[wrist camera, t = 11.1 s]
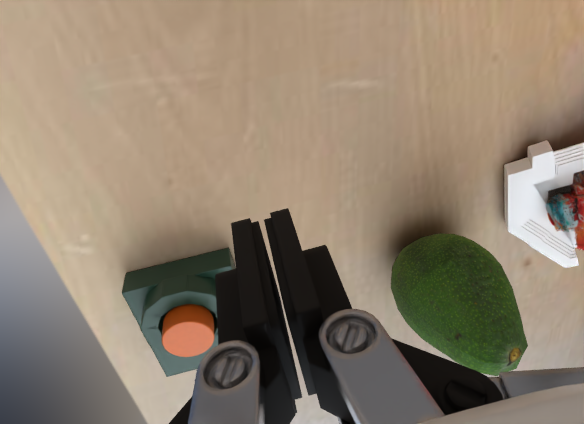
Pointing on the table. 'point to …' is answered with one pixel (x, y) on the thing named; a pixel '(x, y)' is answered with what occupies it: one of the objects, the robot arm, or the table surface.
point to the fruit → (459, 302)
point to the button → (188, 330)
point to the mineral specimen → (534, 196)
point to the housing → (175, 299)
